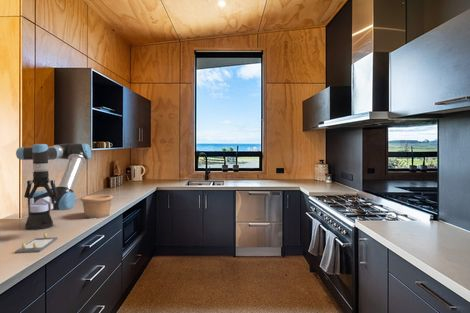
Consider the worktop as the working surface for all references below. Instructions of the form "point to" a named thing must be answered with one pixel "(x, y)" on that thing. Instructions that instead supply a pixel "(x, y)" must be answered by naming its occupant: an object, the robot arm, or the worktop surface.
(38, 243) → the pin plate
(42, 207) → the wedge on round base
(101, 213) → the pottery
